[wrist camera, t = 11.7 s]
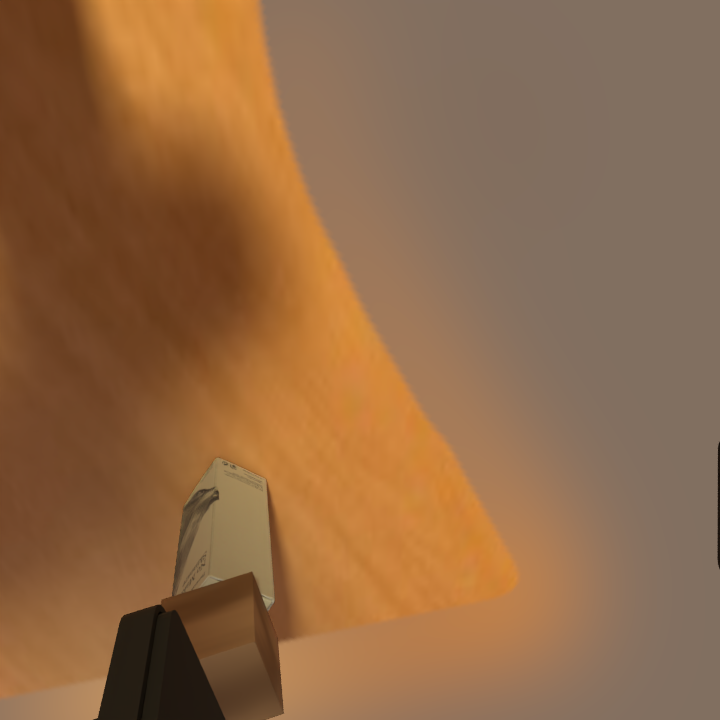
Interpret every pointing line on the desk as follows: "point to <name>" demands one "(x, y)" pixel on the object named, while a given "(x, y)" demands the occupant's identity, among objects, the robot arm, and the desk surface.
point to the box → (225, 531)
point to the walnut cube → (234, 645)
